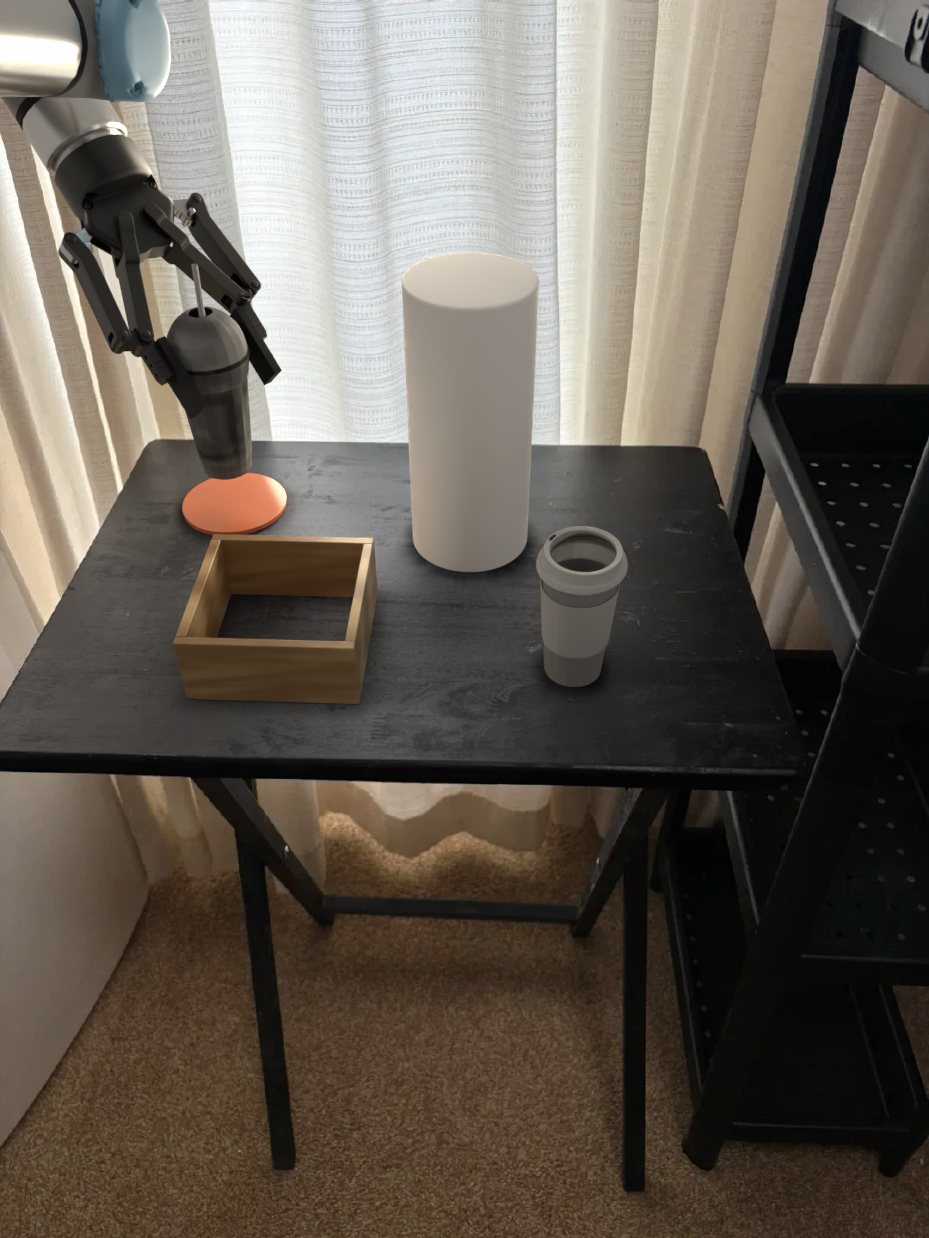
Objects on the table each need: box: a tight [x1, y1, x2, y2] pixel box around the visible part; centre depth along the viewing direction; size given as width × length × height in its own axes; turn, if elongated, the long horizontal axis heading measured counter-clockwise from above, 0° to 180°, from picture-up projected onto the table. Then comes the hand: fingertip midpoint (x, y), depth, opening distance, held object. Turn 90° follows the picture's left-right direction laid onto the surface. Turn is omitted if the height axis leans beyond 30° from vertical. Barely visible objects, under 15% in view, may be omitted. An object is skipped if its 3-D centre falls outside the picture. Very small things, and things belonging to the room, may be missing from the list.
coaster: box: [181, 472, 288, 536], centre depth 101 cm, size 10×10×1 cm
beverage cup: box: [166, 264, 253, 480], centre depth 92 cm, size 7×7×20 cm
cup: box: [535, 525, 629, 688], centre depth 81 cm, size 7×7×12 cm
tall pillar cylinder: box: [401, 251, 540, 573], centre depth 89 cm, size 11×11×25 cm
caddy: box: [172, 534, 379, 705], centre depth 85 cm, size 14×14×6 cm
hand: (236, 394), depth 91 cm, fingers closed on beverage cup, 7 cm apart
